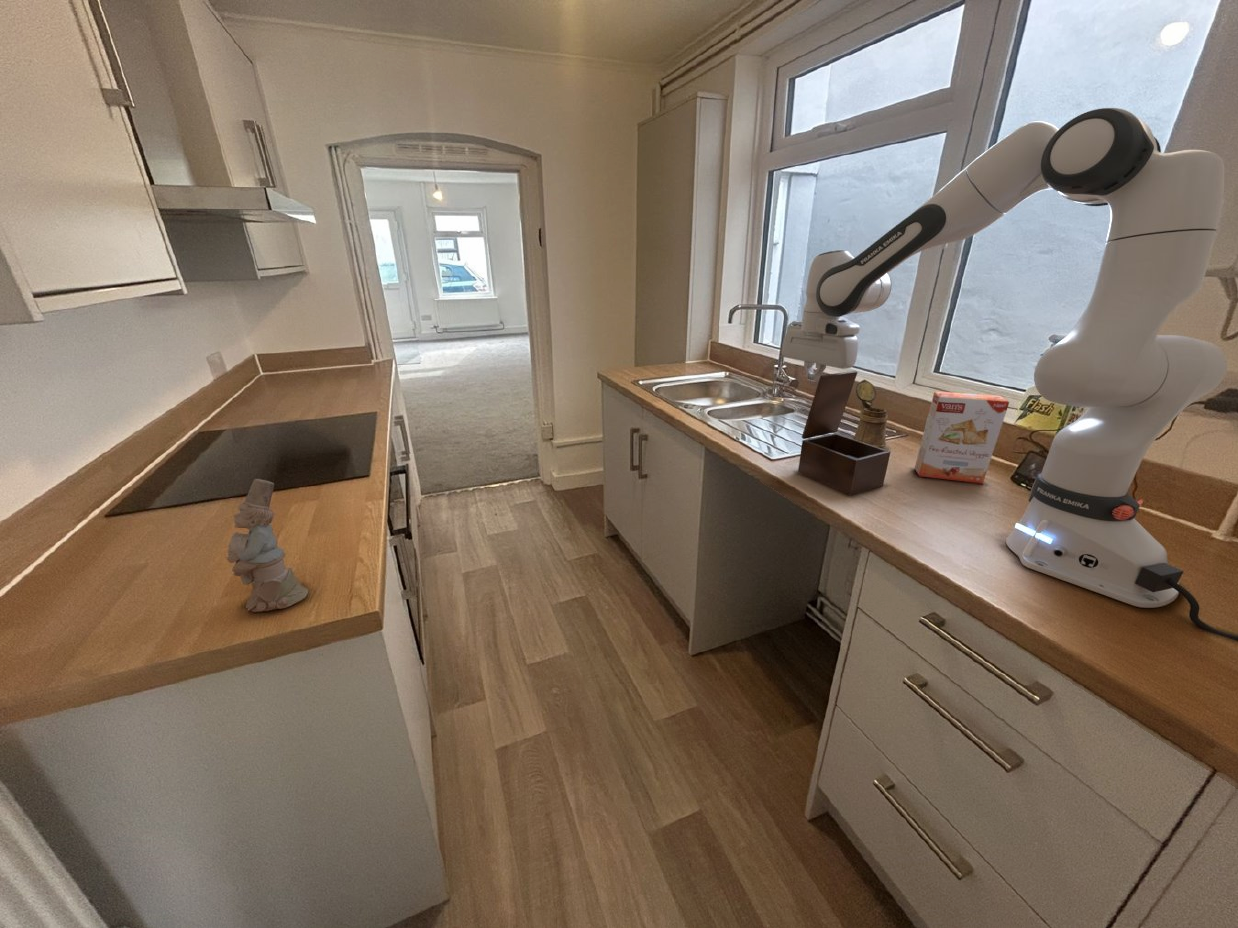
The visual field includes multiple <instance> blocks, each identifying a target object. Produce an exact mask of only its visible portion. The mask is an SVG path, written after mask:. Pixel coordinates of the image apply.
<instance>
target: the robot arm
mask: <svg viewBox="0 0 1238 928" xmlns="http://www.w3.org/2000/svg"><path fill="white" fill-rule="evenodd" d="M1046 190H1047V191H1048V190H1054V191H1056V192H1058V193H1059V194H1060V196H1062V197H1063V198H1064V199H1066V200H1069V201H1071V202H1075V203H1079V204H1081V205H1084V206H1088V207H1102V206H1103V207H1104V206H1109V210H1110V221H1109V226H1108V231H1107V235H1106V240H1105V244H1104V249H1103V254H1102V257H1101V262H1100V266H1099V270H1098V274H1097V278H1096V282H1095V285H1094V289H1093V291H1092V295H1091V297H1090V300H1089V301H1088V303H1087V306H1086V308H1085V309H1084V310H1083V312H1082V314H1081V316H1080V317H1079V318H1078V320H1077V322H1076V323H1075V325H1074V326H1073V327H1072V328H1071V330H1070V331H1069V332H1068V333H1067V335H1066V336H1064V337H1063V338H1062V339H1061V340H1060V341H1058V342H1057V343H1056V344H1054V345H1052V346H1051V347H1049V348H1048V349H1047V350H1046V351H1044V352H1043V354H1042V355H1041V356H1040V357H1039V359H1038V360H1037V363H1036V365H1035V367H1034V373H1033V382H1034V385H1035V388H1036V390H1037V392H1038V393H1039V395H1040V396H1041V397H1042V398H1044V400H1047V401H1048V402H1051V403H1055V404H1060V405H1064V406H1070V407H1075V408H1083V409H1085V408H1086V410H1085V411H1084V413H1083V414H1082V415H1080V416H1079V417H1078V418H1077V419H1076V420H1075V421H1073V422H1071V423H1070V424H1067V425H1066V426H1065V427H1063V428H1061V429H1060V430H1059V431H1058V432H1057V433H1056V434H1055V435H1054V437H1053V439H1052V442H1051V445H1050V447H1049V451H1048V454H1047V456H1046V459H1045V462H1044V464H1043V467H1042V470H1041V473H1037V476H1036V479H1035V480H1034V482H1033V484H1032V486H1031V489H1030V493H1029V498H1028V502H1029V503H1028V505H1027V507H1026V509H1025V511H1024V512H1023V515H1022V516H1021V518H1020V519H1019V522H1017V523H1015V526H1014V528H1013V530H1012V531H1011V533H1010V534H1009V535H1008V536H1007V537H1006V538H1005V543H1006V546H1007V547H1008V549H1010V551H1012V552H1013V553H1014V554H1015V555H1016V556H1017V557H1018V558H1019V561H1020V563H1021V564H1022V565H1023V566H1024V567H1025V568H1027V569H1030V570H1033V571H1036V572H1039V573H1042V574H1044V575H1047V576H1050V577H1052V578H1056V579H1058V580H1061V581H1064V582H1067V583H1069V584H1072V585H1074V586H1078V587H1080V588H1083V589H1086V590H1089V591H1092V592H1093V593H1094V592H1095V593H1097V594H1100V595H1102V596H1106V597H1108V598H1111V599H1114V600H1117V601H1120V602H1121V603H1124V604H1128V605H1131V606H1133V607H1138V608H1142V609H1143V608H1144V609H1151V608H1154V609H1155V608H1160V607H1164V606H1167V605H1169V604H1171V603H1172V602H1174V601H1175V600H1176V599H1177V598H1178V596H1179V595H1181V596H1182V597H1183V598H1185V600H1186V601H1187V602H1188V604H1189V614H1188V616H1189V619H1190V621H1191V622H1192V623H1193V624H1194V625H1195V626H1197V627H1198V628H1200V629H1202V630H1204V631H1207V632H1209V633H1212V634H1216V635H1219V636H1223V637H1225V638H1228V639H1231V640H1234V641H1238V635H1236V634H1232V633H1228V632H1224V631H1221V630H1218V629H1216V628H1213V627H1212V626H1210V625H1208V624H1206V623H1205V622H1204V621H1203V620H1201V619H1200V617H1199V612H1200V605H1199V603H1198V600H1197V599H1196V598H1195V596H1194V595H1193V594H1192V593H1191V592H1190V591H1188V590H1187V589H1186V588H1184V587H1183V586H1182V585H1181V584H1180V583H1179V581H1180V579H1181V577H1182V576H1183V573H1184V570H1182V569H1181V568H1177V567H1176V566H1174V565H1171V564H1168V559H1169V557H1168V553H1167V549H1166V548H1165V547H1164V546H1163V545H1162V544H1161V543H1160V542H1159V541H1158V540H1157V539H1155V537H1154V536H1152V534H1151V533H1150V532H1148V530H1147V529H1145V528H1144V527H1143V526H1142V524H1140V522H1138V520H1136V519H1135V517H1137V514H1138V512H1139V510H1140V508H1141V507H1142V504H1143V503H1144V500H1143V499H1140V500H1138V501H1137V500H1136V499H1135V498H1134V497H1133V495H1131V494H1130V493H1129V489H1130V488H1131V487H1130V486H1131V484H1132V482H1133V481H1134V478H1135V476H1136V473H1138V470H1139V467H1140V465H1141V464H1142V461H1143V459H1144V458H1145V455H1146V454H1147V452H1148V451H1149V449H1150V448H1151V446H1152V445H1153V443H1154V442H1155V441H1156V439H1157V438H1158V437H1159V436H1160V435H1161V434H1162V432H1163V431H1164V430H1165V429H1166V428H1167V427H1168V426H1169V425H1170V424H1171V423H1172V422H1173V421H1174V419H1176V417H1177V416H1179V414H1181V413H1182V412H1183V411H1184V410H1185V409H1186V408H1187V407H1189V406H1190V405H1191V404H1193V403H1195V402H1196V401H1197V400H1198V399H1199V400H1200V398H1203V397H1204V396H1206V395H1208V394H1210V393H1212V392H1213V391H1214V390H1215V389H1216V388H1217V387H1219V385H1220V384H1222V382H1223V380H1224V378H1225V377H1226V374H1227V371H1228V370H1227V369H1228V360H1227V357H1226V355H1225V353H1224V352H1223V350H1222V349H1221V347H1219V346H1218V345H1216V344H1214V343H1212V342H1210V341H1207V340H1202V339H1199V338H1195V337H1191V336H1185V335H1180V334H1159V333H1160V331H1161V329H1162V327H1163V326H1164V324H1165V322H1166V321H1167V319H1168V318H1169V317H1170V315H1172V313H1173V312H1174V311H1175V310H1176V309H1177V308H1178V307H1179V306H1180V305H1182V304H1183V303H1185V302H1187V301H1189V300H1190V299H1192V298H1193V297H1195V295H1196V294H1198V293H1199V291H1200V290H1201V288H1202V286H1203V284H1204V280H1205V277H1206V274H1207V273H1206V272H1207V269H1208V266H1209V262H1210V259H1211V254H1212V252H1213V251H1212V250H1213V247H1214V243H1215V240H1216V236H1217V231H1218V228H1219V224H1220V219H1221V215H1222V209H1223V203H1224V194H1225V192H1224V191H1225V162H1224V160H1223V158H1222V157H1221V156H1220V155H1219V154H1217V153H1216V152H1213V151H1210V150H1204V149H1184V150H1177V151H1172V152H1162V149H1161V145H1160V141H1158V139H1157V137H1155V136H1154V134H1153V132H1152V129H1151V128H1150V126H1149V125H1148V124H1147V123H1146V122H1144V121H1143V120H1142V119H1140V118H1139V117H1137V116H1136V115H1134V114H1133V113H1132V112H1130V111H1128V110H1127V109H1123V108H1119V107H1101V108H1096V109H1091V110H1088V111H1085V112H1082V113H1081V114H1078V115H1077V116H1075V117H1073V118H1072V119H1070V120H1069V121H1067V122H1066V123H1065V124H1063V125H1062V126H1061V127H1060V128H1058V127H1057V126H1055V125H1054V124H1051V123H1049V122H1046V121H1039V120H1037V121H1031V122H1028V123H1025V124H1024V125H1022V126H1020V127H1018V128H1017V129H1015V130H1014V131H1012V132H1011V133H1009V134H1008V135H1006V136H1005V137H1003V138H1002V139H1000V140H999V141H998V142H996V143H995V144H993V145H992V146H991V147H989V148H988V149H987V150H985V151H984V152H983V153H982V154H980V155H979V156H977V157H976V158H975V159H974V160H973V161H972V162H971V163H970V164H968V165H967V166H966V167H965V168H963V169H962V170H961V171H960V172H959V173H957V174H956V175H955V176H954V177H953V178H952V179H951V180H950V181H949V182H948V183H946V184H945V185H944V186H943V187H941V189H939V190H938V191H937V192H936V193H935V194H934V195H932V197H930V198H929V199H928V200H926V202H924V203H923V204H922V205H920V207H918V208H916V210H914V211H913V212H912V213H911V214H910V215H909V216H907V217H905V218H904V219H903V220H901V221H900V222H899V223H898V224H896V225H895V226H894V227H892V228H891V229H890V230H889V231H887V232H886V233H884V234H883V235H882V236H881V237H880V238H878V239H877V240H876V241H875V242H873V243H872V244H871V245H869V246H868V247H867V248H866V249H864V250H863V251H861V252H860V253H859V254H858V255H856V256H855V257H854V256H853V255H852V254H851V253H850V252H849V251H848V250H844V249H843V250H842V249H841V250H840V249H839V250H831V251H826V252H823V253H820V254H818V255H817V256H815V257H814V258H813V260H812V262H811V264H810V268H809V271H808V276H807V282H806V289H805V294H806V295H805V296H806V301H805V304H804V308H803V310H802V311H803V312H802V318H801V319H802V320H801V321H797V320H793V321H792V322H790V323H789V324H788V325H787V326H786V333H785V335H784V338H783V342H782V347H781V355H782V357H783V358H787V359H792V360H796V361H802V362H803V367H804V370H805V374H806V376H805V380H807V381H811V382H814V383H818V382H819V379H820V376H821V375H823V372H824V371H825V370H826V368H827V367H832V368H837V369H841V370H842V369H844V370H845V369H851V368H852V367H854V365H855V364H856V362H857V358H858V350H859V339H858V337H857V335H858V334H859V332H860V325H859V324H858V323H855V322H854V321H852V320H850V319H848V318H846V317H845V316H847V315H851V314H859V313H864V312H865V313H866V312H870V311H872V310H876V309H879V308H880V307H882V306H883V305H884V304H885V303H886V302H887V301H888V299H889V297H890V295H891V291H892V280H891V276H890V275H889V273H890V272H891V271H893V270H894V269H895V268H897V267H898V266H899V265H901V264H902V263H903V262H905V261H906V260H908V259H909V258H911V257H912V256H914V255H916V254H918V253H920V252H923V251H925V250H927V249H931V248H934V247H938V246H942V245H946V244H951V243H955V242H959V241H964V240H966V239H968V238H970V237H972V236H974V235H976V234H978V233H980V232H982V231H983V230H984V229H986V228H988V227H990V226H991V225H993V224H994V223H996V222H997V221H999V220H1000V219H1002V217H1004V216H1005V215H1006V214H1008V213H1009V212H1011V211H1012V210H1013V209H1015V208H1016V207H1017V206H1018V205H1020V204H1021V203H1022V202H1024V201H1026V199H1027V200H1028V198H1030V197H1031V196H1033V195H1035V194H1037V193H1039V192H1042V191H1046ZM813 366H815V369H816V370H815V372H814V367H813Z"/></svg>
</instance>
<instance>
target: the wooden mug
mask: <svg viewBox="0 0 1238 928" xmlns="http://www.w3.org/2000/svg"><path fill="white" fill-rule="evenodd" d="M855 393H856V396H857V399H859V400H860V402H861V407H860V411H859V417H858V418H859V421H858V422H859V423H858V425H857V427H856V430H855V433H854V436H853V437H852V439H855V440H858V441H861V442H864V443H867V444H870V445H873V446H876V447H879V448H882V449H884V450H887V442H886V440H887V439H886V436H887V423H888V417H889V416H888V410H887V409H885V408H880V407H879V408H878V407H873V401H874V400H875V399H876V397H877V389H876V387H875V385H874V384H872V382H870V381H868V380H866V379H862V380H861V381H859V383H858V384H857V385H856V387H855Z"/></svg>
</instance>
